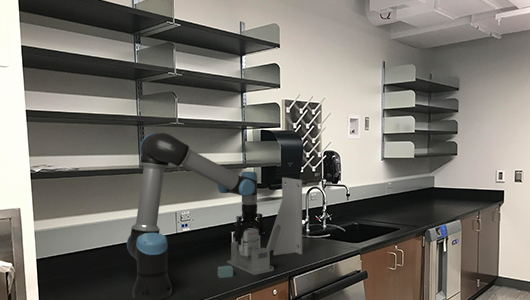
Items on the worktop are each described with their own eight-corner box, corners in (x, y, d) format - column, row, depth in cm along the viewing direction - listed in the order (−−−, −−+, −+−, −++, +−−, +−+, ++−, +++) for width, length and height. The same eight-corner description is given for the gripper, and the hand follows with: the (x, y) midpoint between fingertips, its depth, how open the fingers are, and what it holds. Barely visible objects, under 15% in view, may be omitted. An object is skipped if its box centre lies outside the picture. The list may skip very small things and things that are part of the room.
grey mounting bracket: (261, 248, 236) (261, 178, 236) (283, 245, 243) (283, 177, 242) (278, 257, 219) (278, 181, 218) (302, 254, 225) (302, 180, 224)
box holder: (254, 275, 190) (254, 253, 190) (227, 262, 209) (227, 242, 209) (273, 270, 196) (273, 249, 196) (245, 259, 216) (245, 239, 215)
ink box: (251, 251, 207) (251, 227, 207) (259, 252, 204) (259, 228, 204) (239, 254, 201) (239, 230, 201) (247, 256, 198) (247, 231, 197)
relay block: (220, 278, 186) (219, 269, 186) (217, 275, 190) (217, 266, 189) (232, 276, 188) (232, 267, 188) (230, 274, 192) (230, 265, 192)
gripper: (234, 206, 193) (234, 255, 193) (272, 202, 205) (272, 247, 206) (226, 204, 199) (226, 251, 199) (263, 200, 212) (263, 244, 212)
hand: (249, 249), depth 202 cm, fingers closed on ink box, 9 cm apart
